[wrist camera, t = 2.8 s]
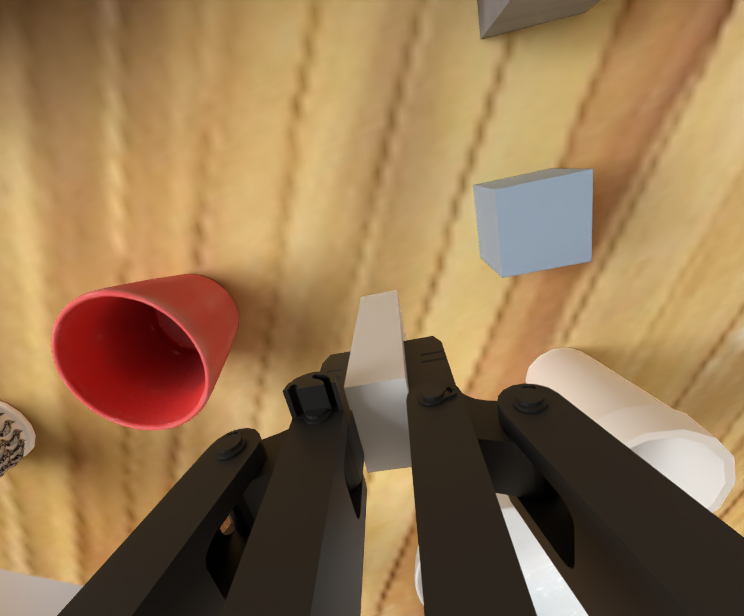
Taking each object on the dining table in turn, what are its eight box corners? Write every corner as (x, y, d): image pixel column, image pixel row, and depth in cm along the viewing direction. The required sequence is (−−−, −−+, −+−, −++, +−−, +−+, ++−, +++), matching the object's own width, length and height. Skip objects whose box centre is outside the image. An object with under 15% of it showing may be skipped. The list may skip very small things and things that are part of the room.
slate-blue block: (473, 185, 28) (495, 189, 23) (550, 168, 28) (593, 168, 22) (480, 257, 30) (502, 277, 25) (552, 243, 30) (591, 261, 24)
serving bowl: (471, 595, 47) (485, 662, 41) (374, 505, 42) (373, 566, 35) (620, 531, 42) (663, 597, 36) (533, 418, 36) (565, 471, 30)
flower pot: (243, 251, 31) (185, 286, 22) (265, 361, 35) (224, 429, 26) (125, 258, 31) (21, 295, 22) (161, 366, 35) (84, 434, 26)
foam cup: (522, 328, 33) (604, 423, 20) (622, 335, 32) (764, 435, 20) (501, 412, 36) (561, 535, 24) (591, 419, 36) (697, 545, 24)
